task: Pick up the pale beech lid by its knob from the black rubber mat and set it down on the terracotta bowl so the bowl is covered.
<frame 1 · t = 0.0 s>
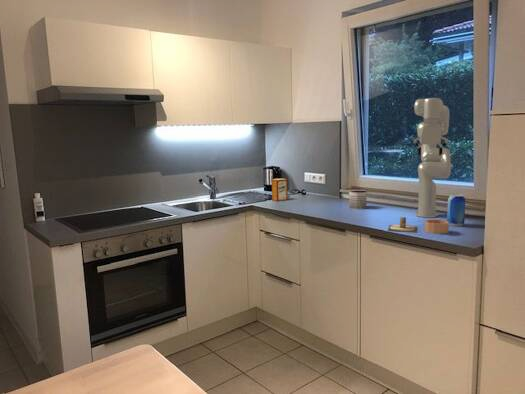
hand: (429, 155, 226), 37 cm above the worktop, tool pointing down, fingers open, 9 cm apart
lid: (402, 228, 221), resting on mat
bowl: (436, 231, 215), on the worktop
ribbed plant pot: (357, 208, 284), on the worktop
baking soda box: (279, 200, 320), on the worktop
beer can: (455, 225, 229), on the worktop
mat: (402, 229, 221), on the worktop
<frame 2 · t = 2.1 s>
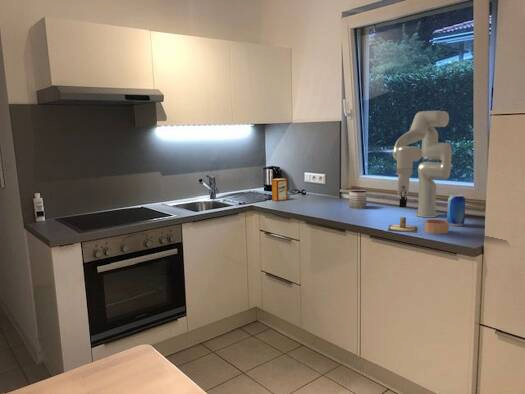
hand: (403, 205, 219), 12 cm above the worktop, tool pointing down, fingers open, 9 cm apart
nothing on the worktop moved.
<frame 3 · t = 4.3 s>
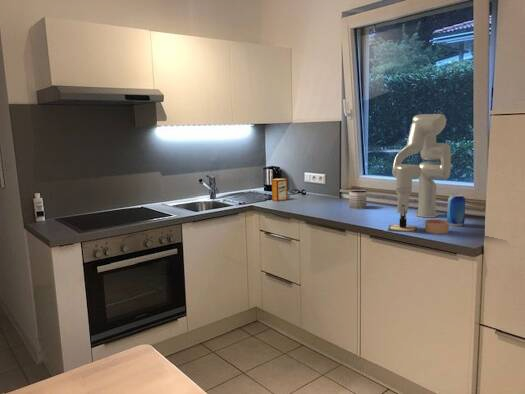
hand: (402, 225, 221), 2 cm above the worktop, tool pointing down, fingers closed on lid, 2 cm apart
lid: (402, 228, 221), resting on mat, touching gripper
everything else where it was.
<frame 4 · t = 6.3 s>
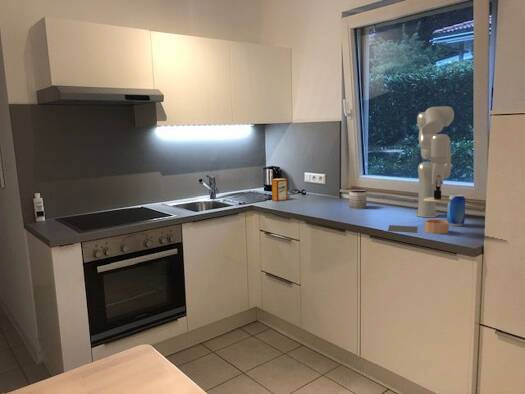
hand: (437, 197, 212), 17 cm above the worktop, tool pointing down, fingers closed on lid, 2 cm apart
lid: (437, 200, 212), point 16 cm above the worktop, touching gripper
everything else where it was.
when the fingers open (8 cm above the worktop, at t = 8.6 s): lid drops 1 cm, resting on bowl.
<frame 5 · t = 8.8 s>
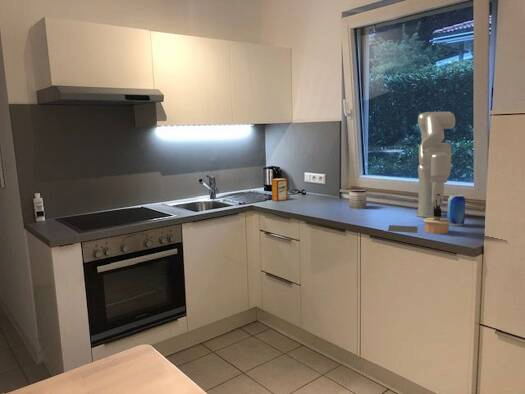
hand: (437, 215, 213), 8 cm above the worktop, tool pointing down, fingers open, 4 cm apart
lid: (436, 221, 214), point 5 cm above the worktop, touching bowl
everything else where it was.
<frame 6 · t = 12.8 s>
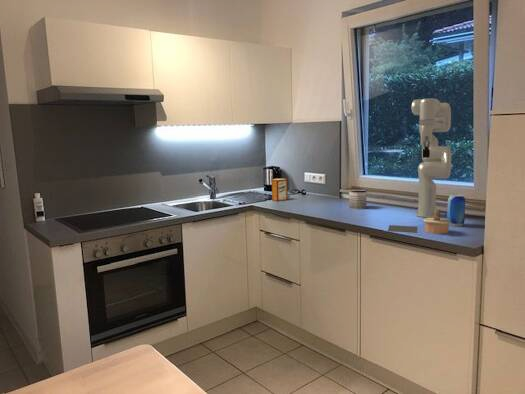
hand: (425, 156, 223), 36 cm above the worktop, tool pointing down, fingers open, 9 cm apart
nothing on the worktop moved.
at the end: lid 0.1 cm off-centre on the bowl, point 5.2 cm above the bowl's base; lid tilted 0°; the gripper is holding nothing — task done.
